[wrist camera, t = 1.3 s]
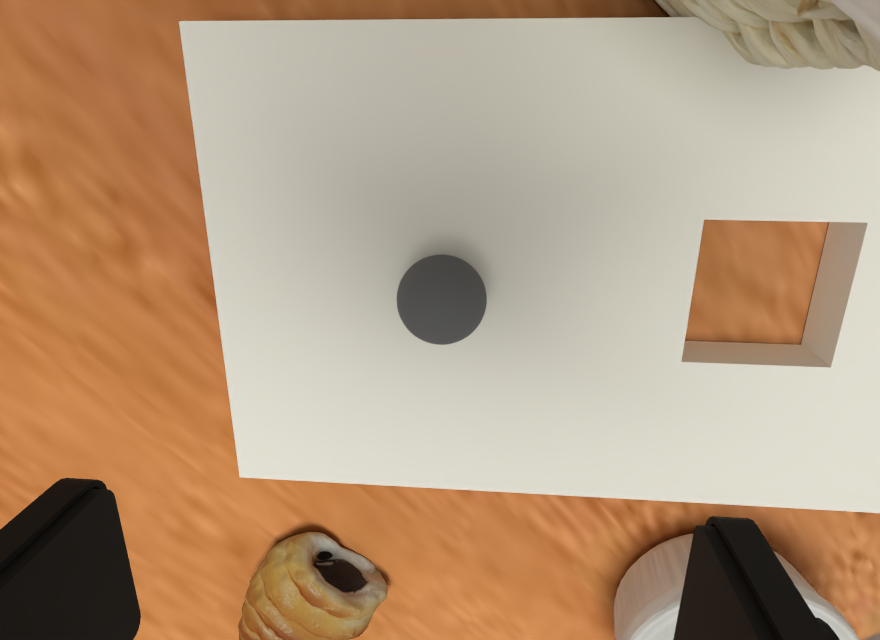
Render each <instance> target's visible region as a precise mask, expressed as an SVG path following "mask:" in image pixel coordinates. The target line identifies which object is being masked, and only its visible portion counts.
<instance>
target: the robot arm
mask: <svg viewBox="0 0 880 640" xmlns="http://www.w3.org/2000/svg"><path fill="white" fill-rule="evenodd" d="M140 618H141V615H140V609H139V604H138V599H137V595H136V590H135V586H134V581H133V577H132V572H131V568H130V563H129V559H128V554H127V549H126V545H125V540H124V536H123V531H122V527H121V522H120V518H119V513H118V509H117V504H116V500H115V496H114V493H113V492H112V491H111V490H107V488H106V485H105V484H104V483H103V482H102V481H99V480H92V479H75V478H65V479H61V480H59V481H57V482H56V483H55V484H53V485H52V486H51V487H50V488H49V489H47V490H46V491H45V492H44V493H43V494H42V495H40V496H39V497H38V498H37V499H36V500H35V501H33V502H32V503H31V504H30V505H29V506H28V507H26V508H25V509H24V510H23V511H22V512H20V513H19V514H18V515H17V516H16V517H15V518H13V519H12V520H11V521H10V522H9V523H8V524H6V525H5V526H4V527H3V528H2V529H0V640H133V639H134V637H135V636H136V634H137V631H138V629H139V625H140ZM673 640H840V639H839V638H838V636H837V635H836V633H835V632H834V631H833V629H832V628H831V627H830V626H829V625H828V623H826V622H825V621H823V620H822V619H820V618H815V616H814V614H813V613H812V611H811V610H810V608H809V607H808V605H807V603H806V602H805V600H804V599H803V597H802V596H801V594H800V592H799V591H798V589H797V588H796V586H795V585H794V583H793V581H792V580H791V578H790V577H789V575H788V574H787V572H786V570H785V569H784V567H783V566H782V564H781V563H780V561H779V559H778V558H777V556H776V555H775V553H774V552H773V550H772V548H771V547H770V545H769V544H768V542H767V541H766V539H765V537H764V536H763V534H762V533H761V531H760V530H759V528H758V526H757V525H756V524H755V523H754V521H753V520H751V519H748V518H731V517H714V516H712V517H709V519H708V520H707V522H706V525H705V526H696V528H695V530H694V533H693V539H692V544H691V549H690V554H689V560H688V565H687V570H686V575H685V581H684V586H683V591H682V596H681V602H680V607H679V612H678V617H677V623H676V628H675V633H674V639H673Z"/></svg>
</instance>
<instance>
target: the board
mask: <svg viewBox="0 0 880 640" xmlns="http://www.w3.org/2000/svg"><path fill="white" fill-rule="evenodd" d="M179 26H180V33H181V41H182V48H183V56H184V63H185V71H186V78H187V86H188V93H189V101H190V108H191V116H192V123H193V131H194V138H195V146H196V153H197V161H198V168H199V176H200V183H201V190H202V198H203V205H204V213H205V220H206V228H207V235H208V243H209V250H210V258H211V265H212V273H213V280H214V288H215V295H216V303H217V310H218V318H219V325H220V333H221V340H222V348H223V355H224V362H225V370H226V377H227V385H228V392H229V400H230V407H231V415H232V422H233V430H234V437H235V445H236V452H237V460H238V467H239V475H240V477H244V478H262V479H280V480H298V481H315V482H333V483H351V484H369V485H387V486H405V487H423V488H441V489H459V490H477V491H495V492H513V493H531V494H549V495H566V496H584V497H602V498H620V499H638V500H656V501H674V502H692V503H710V504H728V505H746V506H764V507H782V508H800V509H818V510H835V511H853V512H871V513H880V71H877V70H875V69H873V68H872V67H869V66H866V65H863V66H861V67H859V68H855V69H838V68H837V67H834V68H832V69H822V70H821V69H817V68H813V67H810V66H809V67H804V68H797V67H794V68H791V69H782V68H778V67H764V66H762V65H755V64H751V63H749V62H747V61H746V60H745V59H744V58H743V57H742V56H741V55H740V54H739V53H738V52H737V51H736V50H735V49H734V47H733V46H732V45H731V43H730V42H729V41H728V39H727V38H726V37H725V35H724V34H723V32H722V31H721V30H719V29H717V28H715V27H713V26H710V25H708V24H707V23H706V22H704V21H703V20H702V19H700V18H699V17H638V18H515V19H391V20H267V21H179ZM704 220H753V221H807V222H829V226H828V230H827V234H826V239H825V243H824V247H823V251H822V256H821V260H820V264H819V269H818V273H817V277H816V281H815V286H814V290H813V294H812V299H811V303H810V307H809V312H808V316H807V320H806V324H805V329H804V333H803V337H802V342H801V345H797V344H768V343H739V342H710V341H685V336H686V330H687V324H688V317H689V311H690V305H691V298H692V292H693V286H694V280H695V273H696V267H697V261H698V254H699V248H700V242H701V236H702V229H703V223H704ZM441 254H443V255H451V256H455V257H458V258H460V259H462V260H464V261H466V262H467V263H469V264H470V265H471V266H472V267H473V268H474V269H475V270H476V271H477V272H478V274H479V275H480V277H481V278H482V281H483V283H484V286H485V289H486V295H487V304H486V310H485V314H484V316H483V319H482V321H481V322H480V324H479V325H478V327H477V328H476V329H475V330H474V331H473V332H472V333H471V334H470V335H469V336H468V337H466V338H464V339H463V340H460V341H458V342H456V343H452V344H446V345H437V344H431V343H428V342H425V341H423V340H421V339H419V338H417V337H416V336H414V335H413V334H412V333H411V332H410V331H409V330H408V329H407V328H406V326H405V325H404V324H403V322H402V320H401V318H400V316H399V313H398V309H397V291H398V287H399V284H400V281H401V279H402V277H403V276H404V274H405V273H406V271H407V270H408V269H409V268H410V267H411V266H412V265H413V264H415V263H416V262H418V261H419V260H421V259H423V258H425V257H429V256H432V255H441Z"/></svg>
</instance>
